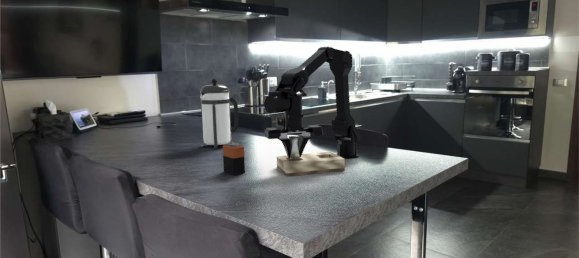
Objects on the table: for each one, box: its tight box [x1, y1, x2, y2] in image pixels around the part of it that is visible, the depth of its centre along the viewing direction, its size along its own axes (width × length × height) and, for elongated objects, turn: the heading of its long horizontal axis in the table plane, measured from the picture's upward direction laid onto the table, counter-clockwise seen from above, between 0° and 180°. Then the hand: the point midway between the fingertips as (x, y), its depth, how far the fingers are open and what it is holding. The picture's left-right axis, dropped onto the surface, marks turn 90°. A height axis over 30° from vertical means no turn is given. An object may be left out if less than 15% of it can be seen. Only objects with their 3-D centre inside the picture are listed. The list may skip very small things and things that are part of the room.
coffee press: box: [199, 78, 240, 150], centre depth 176 cm, size 17×16×30 cm
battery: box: [222, 141, 246, 176], centre depth 131 cm, size 4×7×10 cm, turn 42°
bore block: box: [276, 151, 346, 177], centre depth 134 cm, size 20×12×4 cm, turn 107°
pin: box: [288, 135, 300, 161], centre depth 132 cm, size 4×4×9 cm
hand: (294, 157), depth 132 cm, fingers closed on pin, 3 cm apart
